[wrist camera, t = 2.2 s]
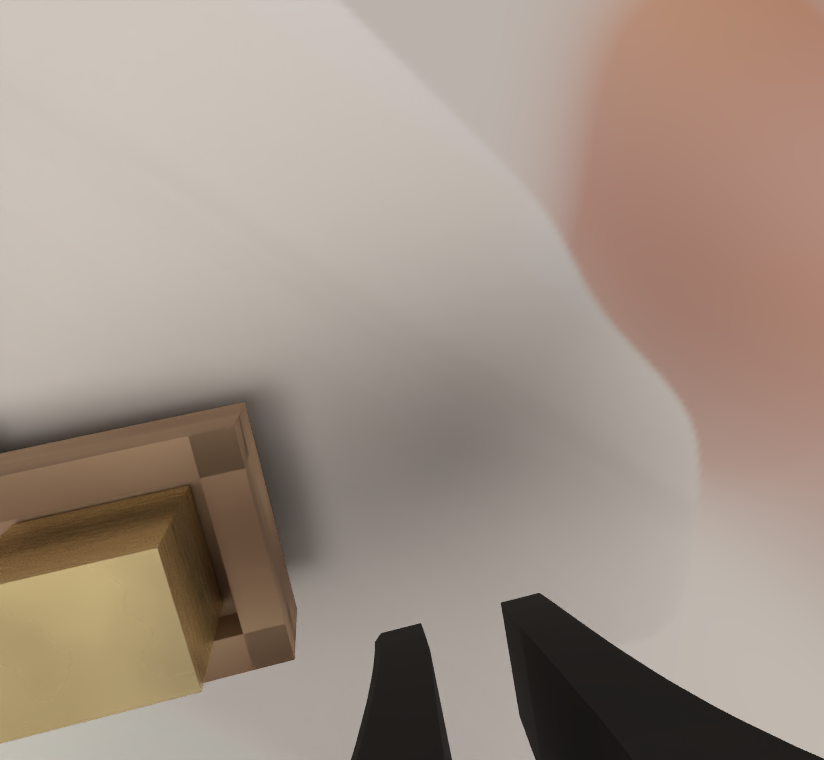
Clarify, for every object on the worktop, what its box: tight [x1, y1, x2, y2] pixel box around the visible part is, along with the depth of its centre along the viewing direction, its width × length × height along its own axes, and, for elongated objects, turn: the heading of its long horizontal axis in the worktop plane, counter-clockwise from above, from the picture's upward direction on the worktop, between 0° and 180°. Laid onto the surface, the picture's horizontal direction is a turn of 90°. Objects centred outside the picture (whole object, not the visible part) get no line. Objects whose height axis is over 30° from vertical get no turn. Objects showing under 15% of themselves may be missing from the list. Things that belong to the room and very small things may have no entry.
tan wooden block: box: [0, 485, 223, 743], centre depth 14 cm, size 3×4×3 cm
